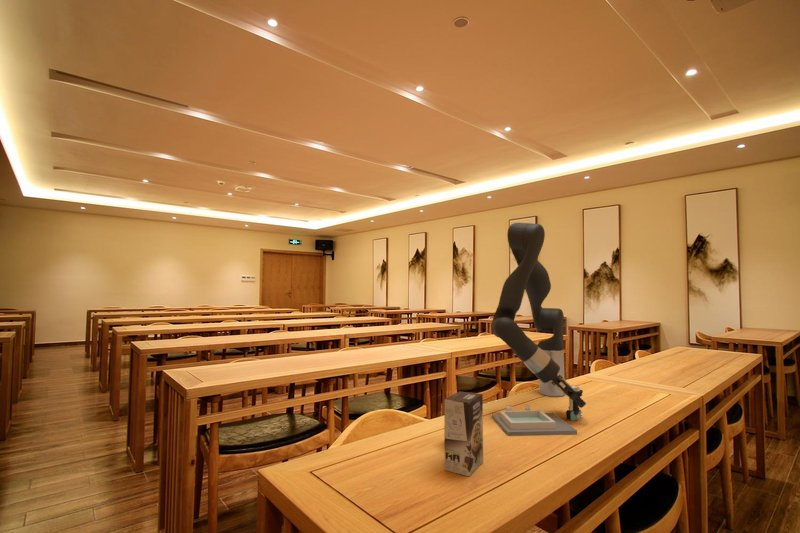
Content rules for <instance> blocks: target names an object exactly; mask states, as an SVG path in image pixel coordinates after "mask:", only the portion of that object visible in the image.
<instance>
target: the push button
mask: <svg viewBox="0 0 800 533" xmlns="http://www.w3.org/2000/svg"><path fill="white" fill-rule="evenodd" d="M571 386H572V389H573V390H574V391H575V392H577V394H578V396H579V397H580V398H581V397H582V396H583V393H584V392H583V391H584V390H582V389H581V388H580V386H578V385H571ZM572 393H573V392H572V391H571V390H570V391H569V392H568V394H569V395H571V394H572ZM568 401H569V402H568V404H569V406H568V409H567V410H566V411H565V418H566V420H568V421H571V422H574V421H577V420H579V421H580V420H581V419H582V416H583V414H582V413H583V412H582V410H581V409H580V407H579V406H578V405H577V404H576V403H575V402H574V401H573V400H572V399H570V398H569V397H568Z"/></svg>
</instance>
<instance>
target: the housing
mask: <svg viewBox="0 0 800 533" xmlns="http://www.w3.org/2000/svg"><path fill="white" fill-rule="evenodd" d="M505 406H506V407H505V408H506V410H499V413H491V417H492V419H493V421H495V423H496V424H497V426H499V427H500V428H501V430H502V431H503V432H504V433H505V434H506V436H508V437H509V436H553V435H554V436H555V435H578V430H577V429H576V428H574V427H573V426H571V425H570V424H569V423H567V422H566V421H565V420H563V419H562V418H561V417H559V416H558V415H557V414H556V413H554V412H544V411H542V410H541V409H535V410H534V409H532V410H531V405H530V404H525V405H524V409H523V410H522V409H519V410H513V409H512V404H511V405H510V404H507V405H505Z"/></svg>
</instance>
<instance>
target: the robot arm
mask: <svg viewBox="0 0 800 533" xmlns="http://www.w3.org/2000/svg"><path fill="white" fill-rule="evenodd" d="M545 234H546V233H545V229H544V227H543V225H542V224H540V223H532V222H513V223H511V224H510V226H508V229H507V236H506V238H507V243H508V246H509V248H510V251H511V253H512V255H513V257H514V259H515V262H516V264H517V267H516V268H515V269H514V270H513V271H512V272H511V273H510V274H509V275H508V277H507V278H506V279H505V281H504V283H503V285H502V289H501V292H500V296H499V302H498V305H497V308H495V309H496V310H495V312H494V315H493V318H492V321H491V326H490V328H491V329H490V330H491V332H492V334H493V335H494V337H497V338H499V339H501V340H502V341H503V342H504V343H505V344H506V345H507V346H508V347H509V348H510V349H511V351H512V352H513V354H514V355H515V356H516V357H517V358H518V359H519V360H521V362H522V363H523V364H524V365H525V366H526V368H527V369H528V370H530V372H531V373H532V374H533V375H535V377H536V378H537V379H538V383H539V384H538V387H539V389H538V391H539V394H540V395H543V396H547V397H563V396H567V397H568V399H569V398H570V399H572V400H573V401H574V402H575V403H576V404H577V405H578V406H579V409H580V408H581V409H582V408H583V407H585V406H586V405H587V402H585V401H584V400H583V399H582V398H581V397H579V396H578V394H577V392H575V391H574V390H573V389H572V386H573V385H571V384H570V383H569V382H568V381H567V379H566V378H565V358H564V357H565V354H564V353H565V351H564V348H565V347H564V329H565V326H564V324H565V317H564V316H565V315H564V312H563V310H562V309H561V308H556V307H553V308H552V307H551V308H550V307H542V304H543V303H544V301H545V300H546V298H547V297H548V295H549V294H550V291H551V289H552V283H551V279H550V277H549V276H550V275H549V272H548V270H547V269H546V267H545V266H544V265H543V264H542V263H541V262H540V261H539V260H538V257H539V255H540V253H541V250H542V247H543V246H544V242H545V236H546V235H545ZM525 293H526V296H527V298H528V302H529V305H530V310H531V315H532V320H533V324H534V326H535V329H536V330H537V331H540V332H553V335H551V337H548V338H546V339H542V340H540V341H538V345H537V344H536V342H534V341H533V340H532V339H531V338H529V336H528V335H526V333H525V332H524V331H523V330H522V328H521V327H520V325H519V324H517V323H516V321H515V320H516V319H515V318H516V316H517V312H519V310H520V309H521V305H522V302H523V299H524V294H525ZM570 390H571V391H572V392H573V393H572V394H571V395H569V394H568V392H569V391H570Z"/></svg>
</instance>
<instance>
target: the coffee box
mask: <svg viewBox="0 0 800 533" xmlns="http://www.w3.org/2000/svg"><path fill="white" fill-rule="evenodd" d="M443 400H444V410H443V411H444V416H443V418H444V419H443V420H444V423H443V424H444V435H443V436H444V467H443V468H444V471H447V472H451V473H455V474H458V475H463V476H466V477H470V476H471V475H472V474H473V473H474V472H475V471H476V470H477V469H478V468H479V467H480V466H481V465H482V464H483V463H484V421H483V420H484V417H483V416H484V414H483V413H484V412H483V411H484V404H483V401H484V399H483V394H482V393H477V392H468V391H467V392H465V391H461V390H459V391H457V392H455V393H453V394H451V395H450V396H448V397H446V398H445V399H443Z"/></svg>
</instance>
